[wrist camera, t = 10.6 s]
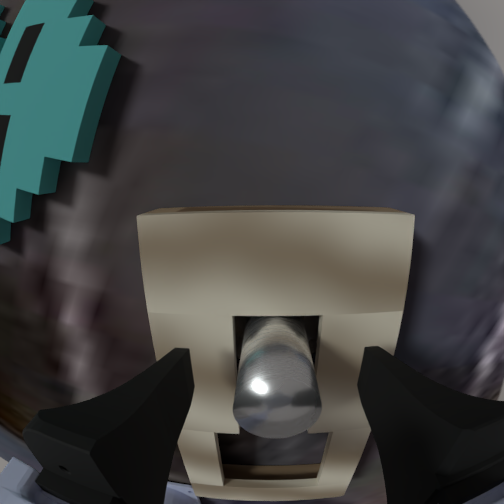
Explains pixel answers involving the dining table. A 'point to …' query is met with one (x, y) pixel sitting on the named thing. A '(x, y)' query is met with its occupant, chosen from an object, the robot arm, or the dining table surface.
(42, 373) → the dining table surface
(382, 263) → the keyhole plate
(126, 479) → the robot arm
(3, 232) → the alien figure
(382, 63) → the dining table surface
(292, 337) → the peg
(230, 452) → the dining table surface
